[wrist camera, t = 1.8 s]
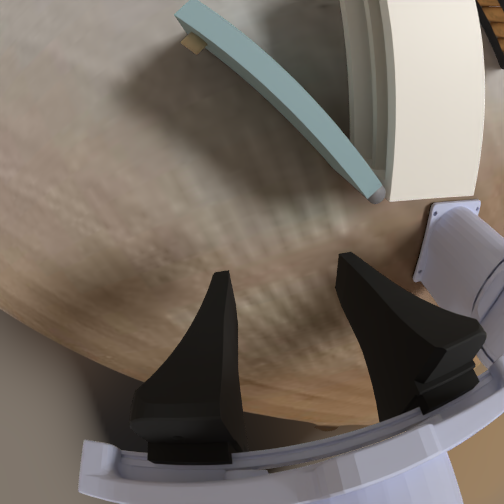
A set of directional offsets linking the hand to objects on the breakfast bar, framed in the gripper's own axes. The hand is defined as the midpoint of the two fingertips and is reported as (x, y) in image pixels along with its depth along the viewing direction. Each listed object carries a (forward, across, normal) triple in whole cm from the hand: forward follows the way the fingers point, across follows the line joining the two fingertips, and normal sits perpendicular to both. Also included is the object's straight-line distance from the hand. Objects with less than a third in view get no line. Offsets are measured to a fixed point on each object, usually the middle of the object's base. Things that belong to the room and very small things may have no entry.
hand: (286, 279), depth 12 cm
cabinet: (+9, -11, -9) cm, 17 cm away
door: (+9, -2, -7) cm, 11 cm away
